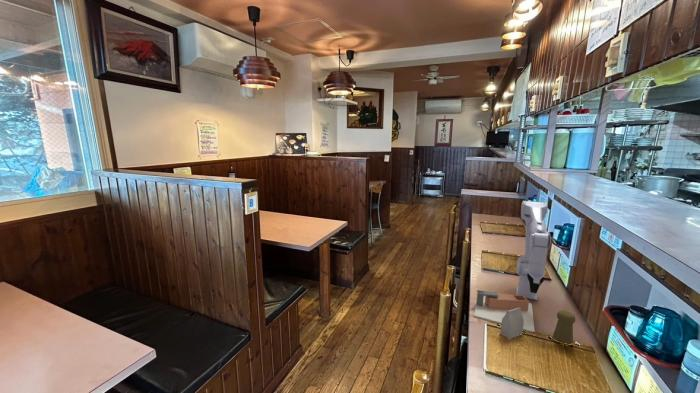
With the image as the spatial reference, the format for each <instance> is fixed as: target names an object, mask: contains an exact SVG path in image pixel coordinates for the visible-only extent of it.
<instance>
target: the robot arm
mask: <svg viewBox="0 0 700 393" xmlns="http://www.w3.org/2000/svg"><path fill="white" fill-rule="evenodd" d="M520 206H521V207H520V208H521V209H520V217H521V218H520V219H522V220H523V221H524V222H525V223H524V224H525V242H524V244H525V245H524V255H522V256H519V257H518V258H517V263H516V273H517V275H519V277H518V286H516V295H524V296H525V298H526V299H530V300H535V301H538V294H537V293H538V291H539V288H540V286H541V285H542V284H543V283H544V281H545V280H544V277H545V275H546V272H545V271H546V262H547V257H548V249H550V248H551V247H550V246H551V244H552V242H551V241H552V237H551V233H550V232H548V229H547V224H546V222H545V218H546V217H547V214H548V203H547V202H546V201H544V202H543V201H530V200H529V201H528V200H527V201H526V200H522V202H521V205H520Z"/></svg>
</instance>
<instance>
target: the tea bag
mask: <svg viewBox="0 0 700 393" xmlns="http://www.w3.org/2000/svg"><path fill="white" fill-rule="evenodd" d="M523 324H524V319H523V316H522V312H521V308H520V307H519V308H516V309H513V310H510V311H507V312H506V314H505V316H504V317H503V318H502V323H501V326H500V333H502V334H503V335H505V336H506V337H507V338H506V337H505V336H504V337H505V338H506V339H508V338H509V339H510V340H512V339H511V338H513V337H515V338H517V337H516V336H518V335H520V334H522V335H523V332H524V330H523ZM502 334H501V335H502ZM503 335H502V336H503ZM518 337H519V336H518ZM509 339H508V340H509ZM513 339H514V338H513Z"/></svg>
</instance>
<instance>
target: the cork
mask: <svg viewBox="0 0 700 393" xmlns="http://www.w3.org/2000/svg"><path fill="white" fill-rule="evenodd" d="M556 318H557V321H556V325H555V327H554V331H553V335H552V337H553V338H554V339H555V340H557V341H559V342H562V343H567V344H571V343H573V344H574V328H573V326H574V325H573V324H574V323H576V316H575V314H573V313H572V312H571V311H568V310H559V311H558V312H557V313H556ZM553 338H552V339H553Z"/></svg>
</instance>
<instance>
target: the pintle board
mask: <svg viewBox="0 0 700 393" xmlns="http://www.w3.org/2000/svg"><path fill="white" fill-rule="evenodd" d="M476 292H477V294H476V304H475V307H474V313H473V317H474V318H478V319H482V320H485V321H489V322H492V323H496V324H501V323H502V318H503V317H504V316H505V314H506V312H507V311H510V310H500V309H489V308H488V307H487V305H486V303H485V296H491V297H498V294H499V293H497V291H493V290H491V291H489V290H482V289H481V290H477V291H476ZM521 312H522V316H523V319H524V324H523V331H525V330H526V331H525V332H529V331H530V332H529V333H533V332H535V323H534V314H533V305H532V303H531V302H529V305H528V311H521Z"/></svg>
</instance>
